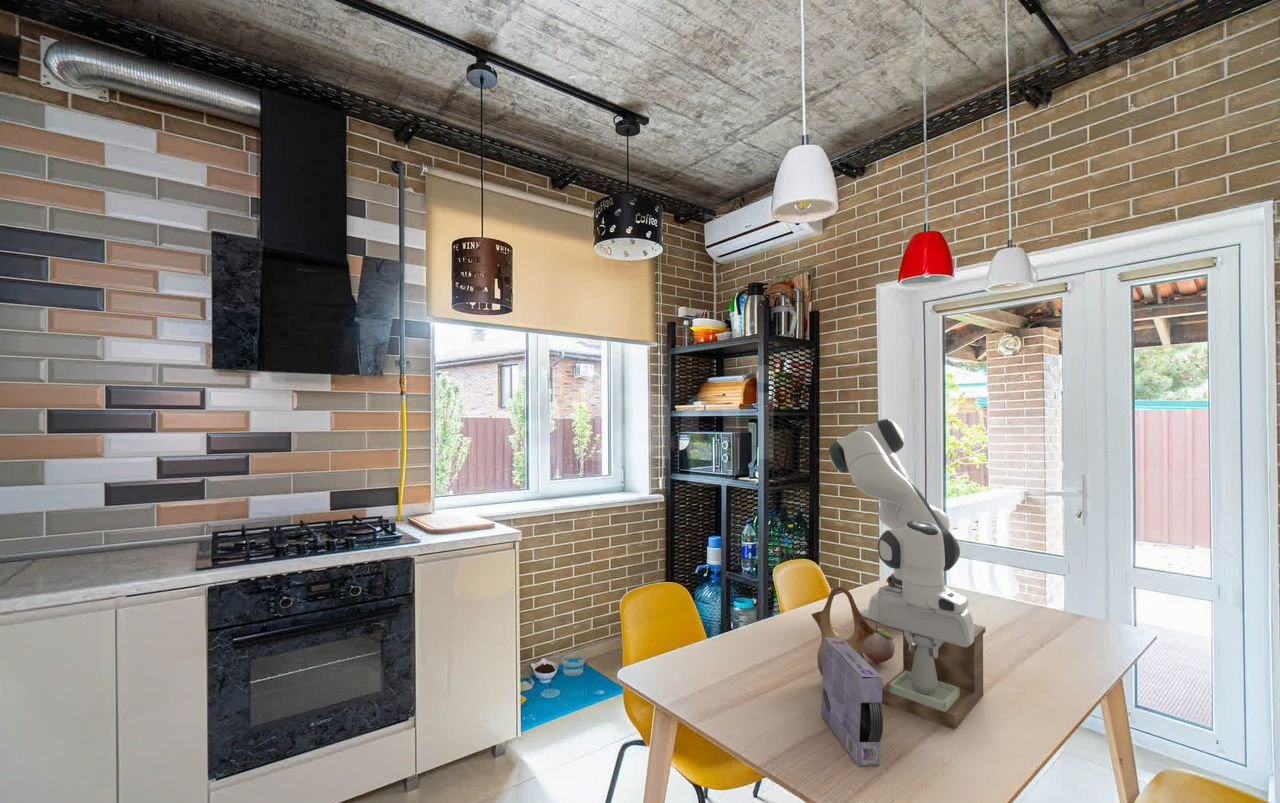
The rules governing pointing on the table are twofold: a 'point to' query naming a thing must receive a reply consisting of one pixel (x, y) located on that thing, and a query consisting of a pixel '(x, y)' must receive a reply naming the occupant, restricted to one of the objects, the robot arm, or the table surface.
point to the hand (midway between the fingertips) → (923, 653)
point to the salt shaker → (923, 667)
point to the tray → (938, 700)
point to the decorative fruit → (879, 646)
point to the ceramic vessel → (827, 631)
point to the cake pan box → (852, 701)
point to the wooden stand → (947, 680)
